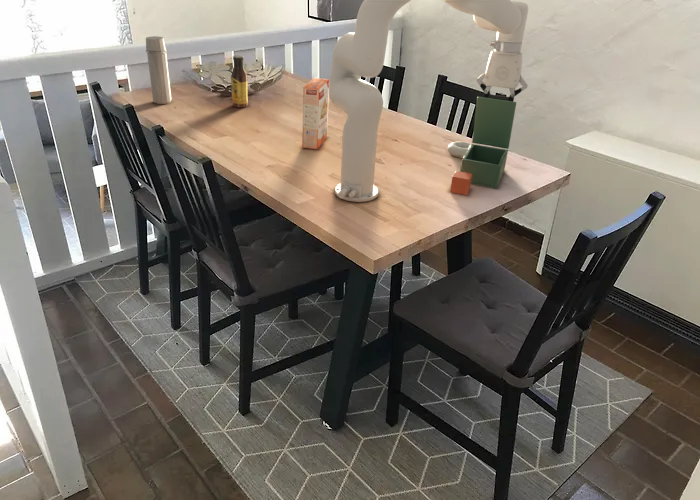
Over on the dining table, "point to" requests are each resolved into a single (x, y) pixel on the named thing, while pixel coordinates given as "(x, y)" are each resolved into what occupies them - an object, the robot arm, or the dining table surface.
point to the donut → (459, 148)
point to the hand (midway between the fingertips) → (497, 106)
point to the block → (461, 183)
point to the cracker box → (315, 113)
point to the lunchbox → (484, 165)
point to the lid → (493, 121)
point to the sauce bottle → (239, 83)
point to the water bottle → (158, 69)
